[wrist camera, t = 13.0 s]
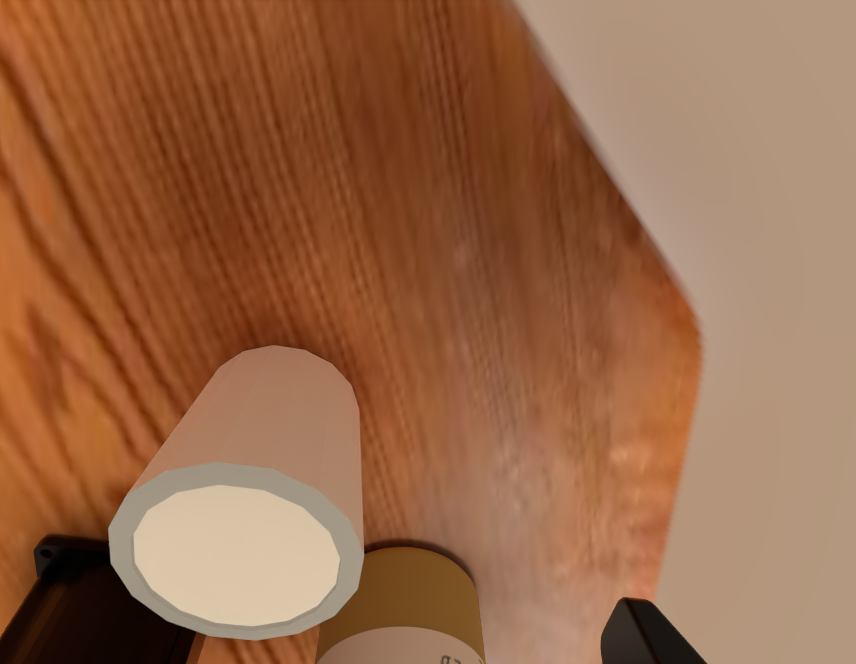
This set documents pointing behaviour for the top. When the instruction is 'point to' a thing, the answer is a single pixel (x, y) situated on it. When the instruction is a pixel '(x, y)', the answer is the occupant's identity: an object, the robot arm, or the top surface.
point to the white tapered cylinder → (250, 503)
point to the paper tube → (406, 613)
